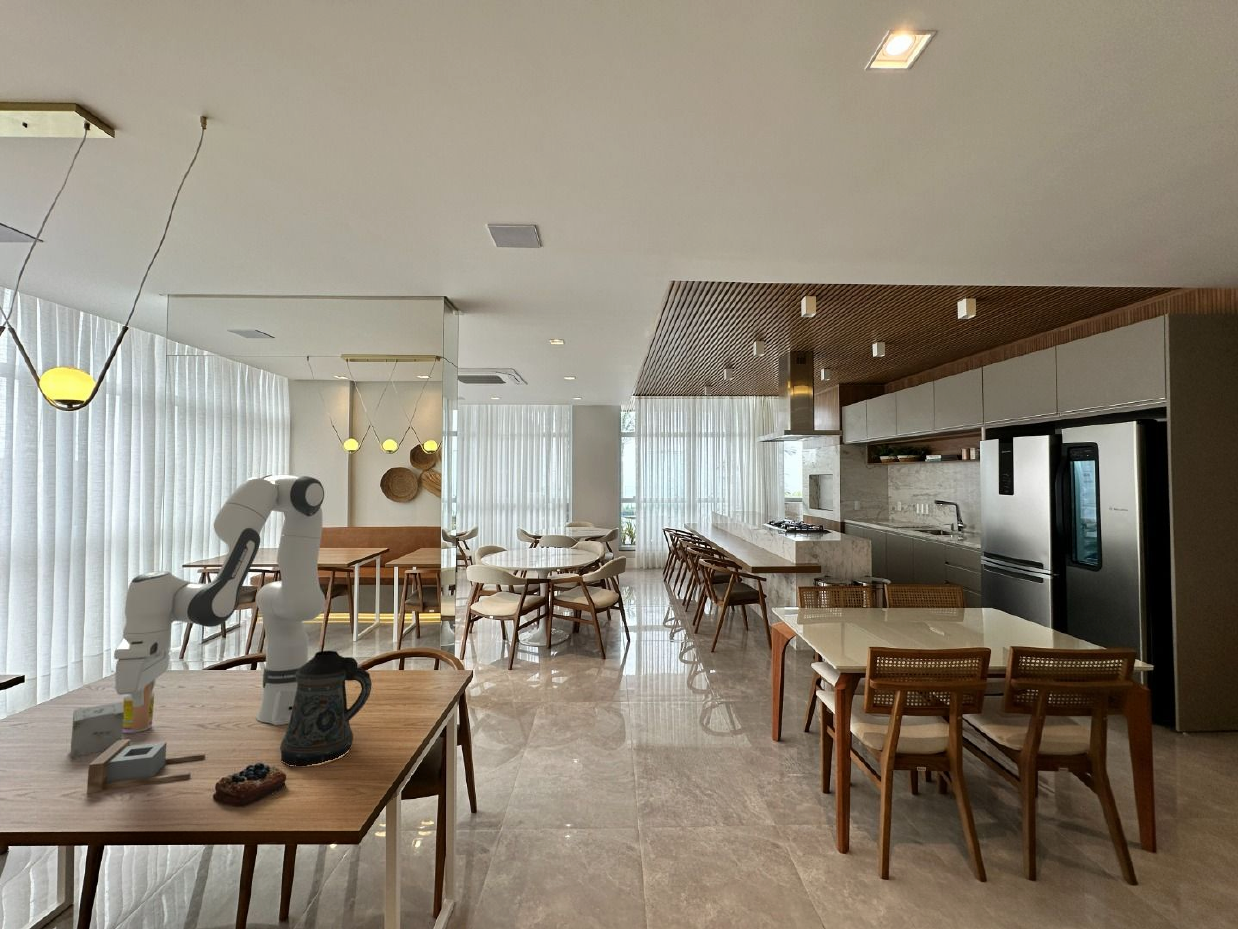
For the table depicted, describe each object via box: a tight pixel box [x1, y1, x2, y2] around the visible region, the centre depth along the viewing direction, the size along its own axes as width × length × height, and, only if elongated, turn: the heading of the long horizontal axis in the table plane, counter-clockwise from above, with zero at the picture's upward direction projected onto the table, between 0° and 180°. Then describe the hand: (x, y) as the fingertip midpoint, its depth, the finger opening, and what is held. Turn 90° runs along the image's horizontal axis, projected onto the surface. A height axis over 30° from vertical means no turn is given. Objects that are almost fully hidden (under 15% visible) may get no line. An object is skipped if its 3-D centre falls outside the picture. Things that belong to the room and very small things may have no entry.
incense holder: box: [69, 701, 124, 759], centre depth 149 cm, size 10×8×10 cm
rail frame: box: [86, 738, 206, 794], centre depth 136 cm, size 18×14×6 cm
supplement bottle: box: [122, 690, 155, 734], centre depth 163 cm, size 7×7×13 cm
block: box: [107, 741, 167, 783], centre depth 136 cm, size 8×9×5 cm
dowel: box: [132, 682, 152, 730], centre depth 136 cm, size 3×3×12 cm
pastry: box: [212, 762, 287, 808], centre depth 128 cm, size 11×12×6 cm
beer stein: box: [279, 650, 372, 766], centre depth 150 cm, size 16×19×25 cm
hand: (142, 702), depth 136 cm, fingers closed on dowel, 3 cm apart
